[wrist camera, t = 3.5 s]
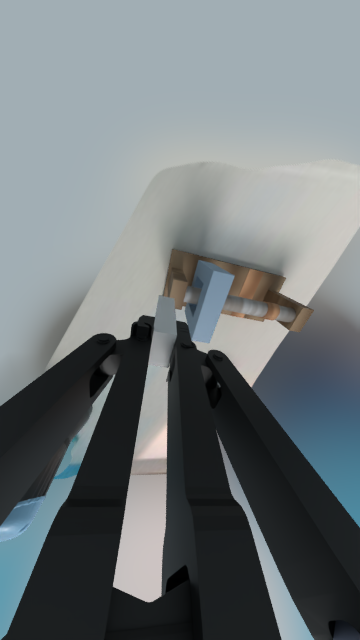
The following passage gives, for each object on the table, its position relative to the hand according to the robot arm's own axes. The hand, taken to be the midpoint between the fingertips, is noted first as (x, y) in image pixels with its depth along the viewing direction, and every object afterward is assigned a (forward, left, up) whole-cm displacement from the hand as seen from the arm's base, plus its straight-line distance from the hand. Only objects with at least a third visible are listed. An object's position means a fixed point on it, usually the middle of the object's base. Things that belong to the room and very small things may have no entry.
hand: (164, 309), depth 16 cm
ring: (+6, 0, -12) cm, 14 cm away
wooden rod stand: (+12, 0, -17) cm, 20 cm away
